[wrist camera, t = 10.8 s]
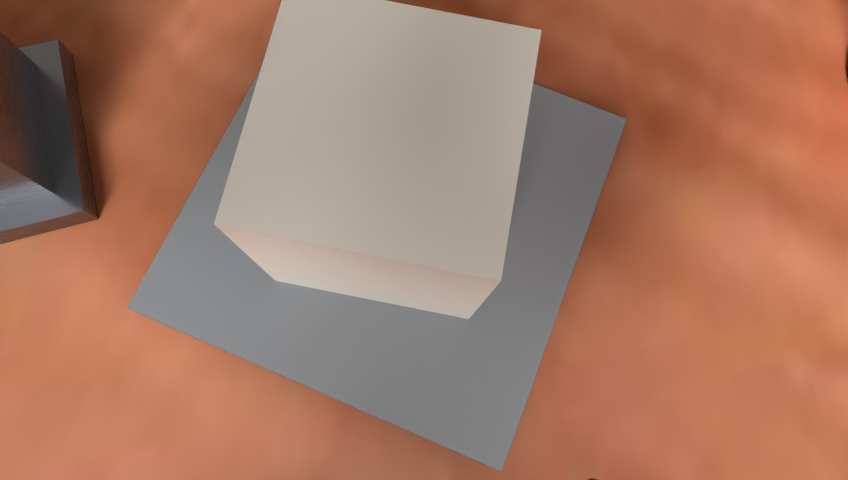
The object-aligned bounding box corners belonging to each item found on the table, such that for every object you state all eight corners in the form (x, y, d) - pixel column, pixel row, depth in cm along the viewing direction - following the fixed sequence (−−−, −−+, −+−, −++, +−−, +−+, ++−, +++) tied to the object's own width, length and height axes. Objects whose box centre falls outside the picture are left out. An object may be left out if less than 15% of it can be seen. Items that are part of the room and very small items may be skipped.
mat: (621, 125, 23) (626, 119, 23) (499, 469, 20) (501, 471, 19) (305, 3, 24) (302, -6, 24) (134, 310, 21) (126, 308, 20)
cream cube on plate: (468, 319, 21) (501, 280, 14) (275, 280, 21) (213, 224, 14) (499, 140, 22) (541, 29, 16) (321, 106, 23) (287, -19, 16)
